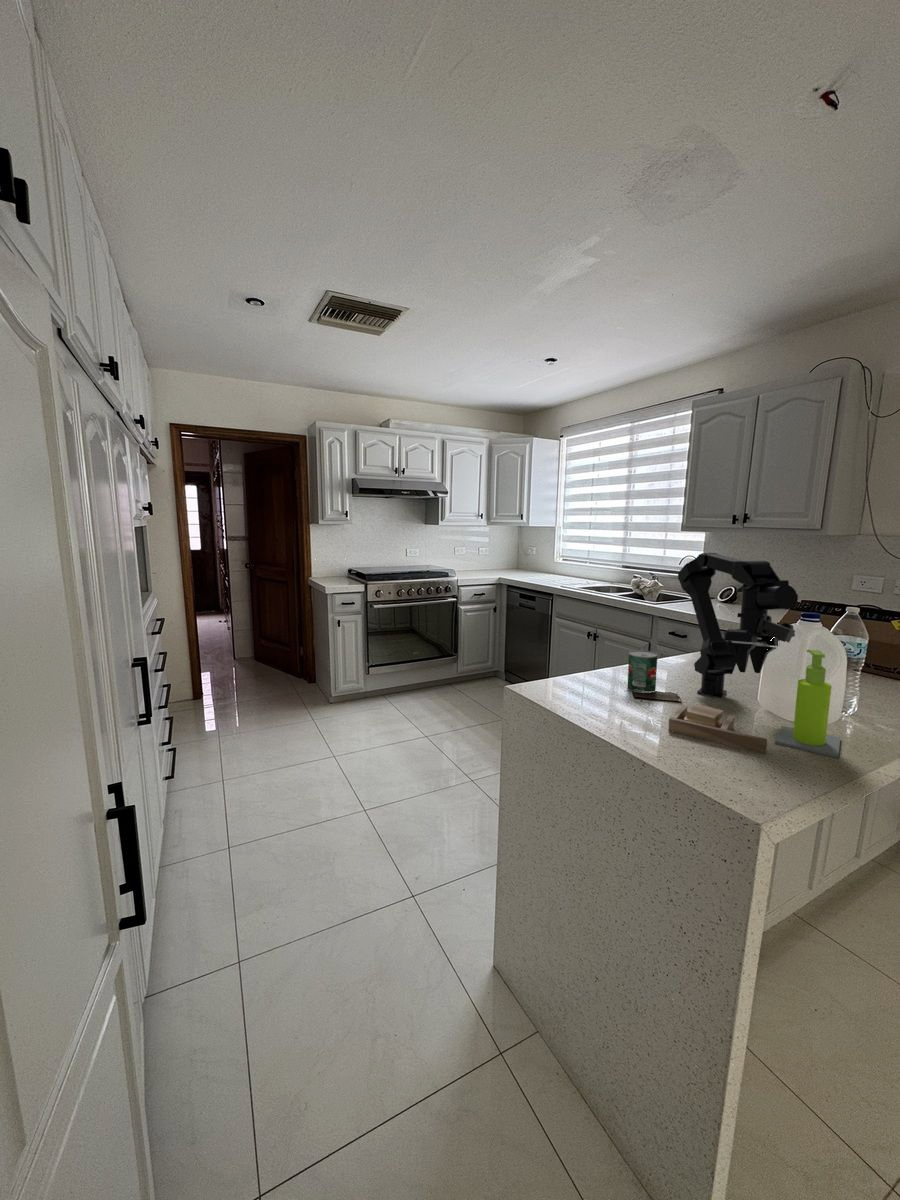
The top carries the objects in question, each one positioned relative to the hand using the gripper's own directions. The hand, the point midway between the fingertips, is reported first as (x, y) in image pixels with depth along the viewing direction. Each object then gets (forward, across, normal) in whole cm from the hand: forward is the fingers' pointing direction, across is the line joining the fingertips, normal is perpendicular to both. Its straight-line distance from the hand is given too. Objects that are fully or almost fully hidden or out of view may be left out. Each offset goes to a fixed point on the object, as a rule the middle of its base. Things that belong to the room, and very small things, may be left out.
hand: (750, 672), depth 122 cm
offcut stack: (+14, -13, +5) cm, 20 cm away
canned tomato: (+9, +1, +29) cm, 31 cm away
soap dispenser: (+13, -2, -13) cm, 19 cm away
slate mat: (+14, -2, -13) cm, 19 cm away
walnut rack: (+14, -12, +1) cm, 19 cm away
